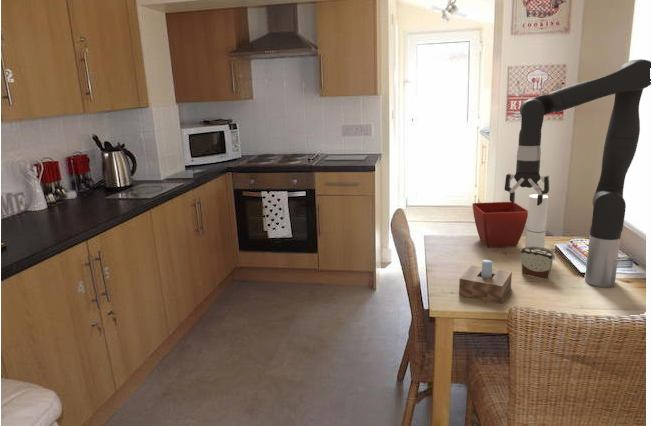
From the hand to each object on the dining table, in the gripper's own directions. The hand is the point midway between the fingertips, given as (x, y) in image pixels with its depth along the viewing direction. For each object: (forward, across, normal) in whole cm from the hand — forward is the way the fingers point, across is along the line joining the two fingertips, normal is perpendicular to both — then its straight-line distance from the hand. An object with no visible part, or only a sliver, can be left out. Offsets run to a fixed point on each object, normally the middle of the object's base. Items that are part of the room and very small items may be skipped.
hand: (525, 203), depth 168 cm
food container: (+28, -5, -6) cm, 29 cm away
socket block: (+28, +8, +18) cm, 34 cm away
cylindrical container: (+28, 0, -28) cm, 40 cm away
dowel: (+27, +8, +18) cm, 33 cm away
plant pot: (+28, +17, -37) cm, 50 cm away
